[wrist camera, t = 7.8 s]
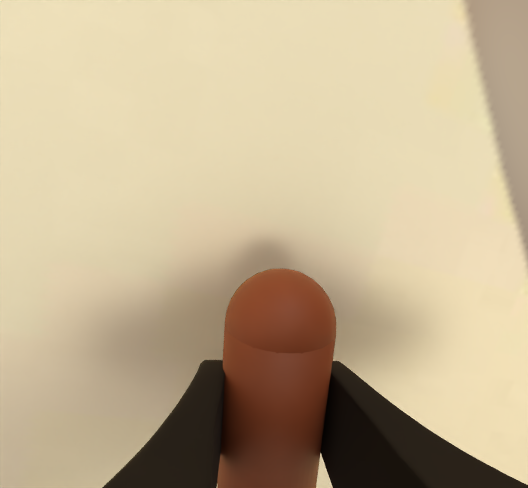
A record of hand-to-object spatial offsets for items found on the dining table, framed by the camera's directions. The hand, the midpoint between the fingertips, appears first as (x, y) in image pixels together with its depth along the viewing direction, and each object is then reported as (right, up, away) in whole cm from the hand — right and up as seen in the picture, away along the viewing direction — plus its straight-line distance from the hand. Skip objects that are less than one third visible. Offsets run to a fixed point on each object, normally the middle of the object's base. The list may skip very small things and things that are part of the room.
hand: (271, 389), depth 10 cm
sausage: (0, 0, -1) cm, 1 cm away
